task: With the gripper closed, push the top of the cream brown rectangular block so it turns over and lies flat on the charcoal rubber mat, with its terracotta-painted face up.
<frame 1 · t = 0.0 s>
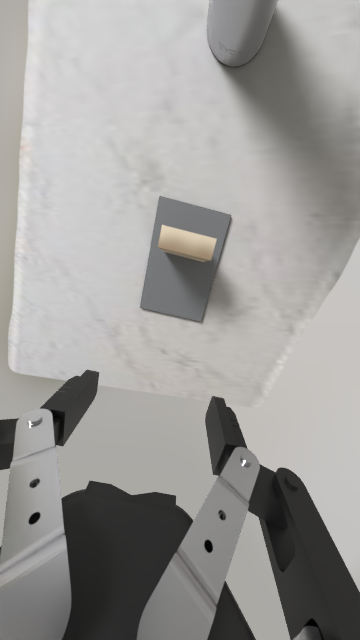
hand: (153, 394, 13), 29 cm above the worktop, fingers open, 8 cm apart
rubber mat: (182, 264, 38), on the worktop
cream brown rectangular block: (185, 249, 37), resting on rubber mat
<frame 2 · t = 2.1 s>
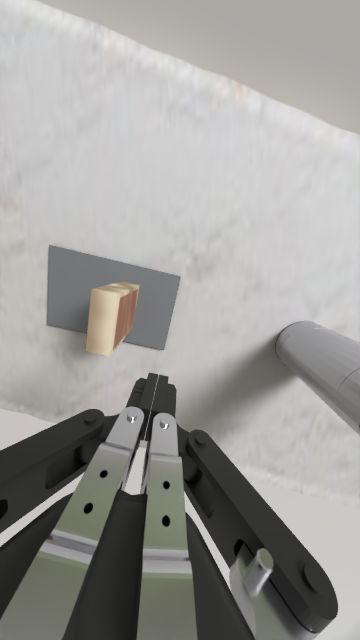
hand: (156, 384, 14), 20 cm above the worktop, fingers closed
rubber mat: (112, 301, 33), on the worktop
cream brown rectangular block: (127, 305, 32), resting on rubber mat
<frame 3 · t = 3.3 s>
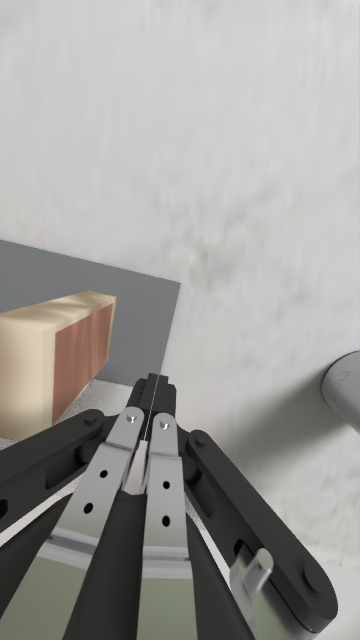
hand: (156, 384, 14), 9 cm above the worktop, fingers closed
rubber mat: (76, 320, 21), on the worktop
cream brown rectangular block: (99, 327, 21), resting on rubber mat
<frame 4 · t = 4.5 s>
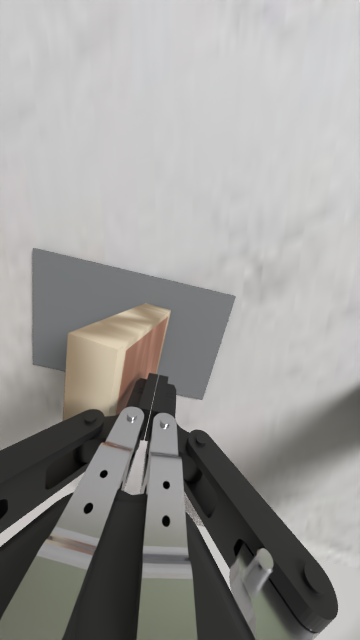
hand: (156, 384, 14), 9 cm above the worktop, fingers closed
rubber mat: (128, 331, 22), on the worktop
cream brown rectangular block: (151, 339, 21), point 1 cm above the worktop, tilted 11°, touching gripper, rubber mat
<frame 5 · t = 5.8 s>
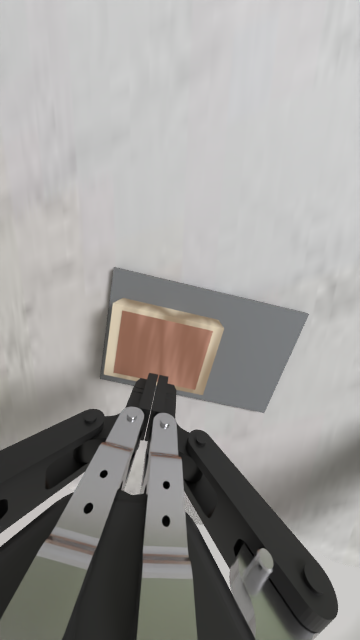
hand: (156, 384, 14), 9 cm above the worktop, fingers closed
rubber mat: (197, 346, 22), on the worktop
cream brown rectangular block: (210, 357, 20), point 2 cm above the worktop, tilted 90°, touching rubber mat
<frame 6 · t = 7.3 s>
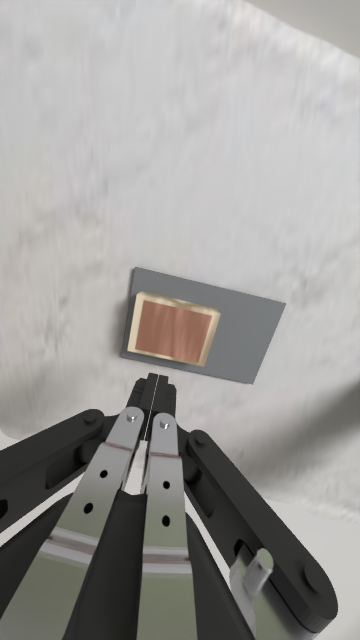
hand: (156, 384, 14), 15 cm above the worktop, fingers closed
rubber mat: (199, 330, 28), on the worktop
cream brown rectangular block: (210, 337, 26), point 2 cm above the worktop, tilted 90°, touching rubber mat
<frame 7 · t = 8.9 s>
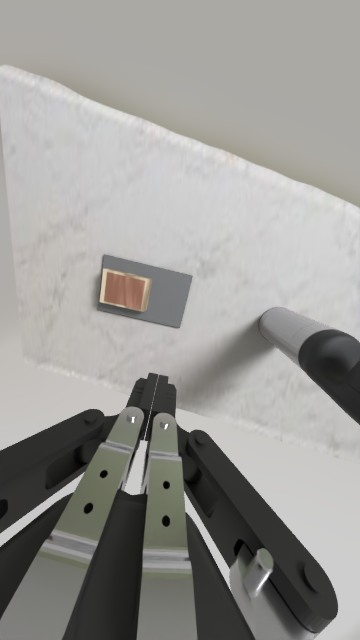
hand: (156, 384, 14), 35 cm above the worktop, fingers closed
rubber mat: (144, 293, 47), on the worktop
cream brown rectangular block: (148, 295, 45), point 2 cm above the worktop, tilted 90°, touching rubber mat
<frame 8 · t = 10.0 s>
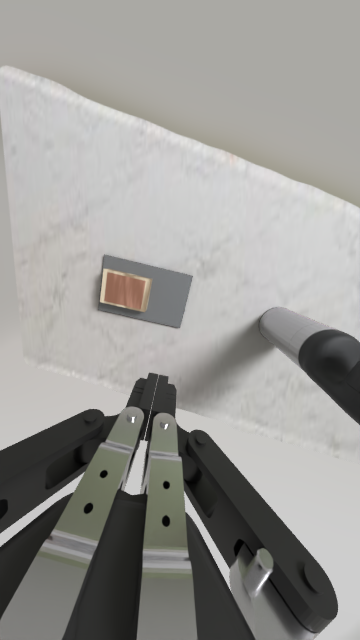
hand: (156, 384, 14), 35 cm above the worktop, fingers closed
rubber mat: (144, 293, 47), on the worktop
cream brown rectangular block: (148, 295, 45), point 2 cm above the worktop, tilted 90°, touching rubber mat
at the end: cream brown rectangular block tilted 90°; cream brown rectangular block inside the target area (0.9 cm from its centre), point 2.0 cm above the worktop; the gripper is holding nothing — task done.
